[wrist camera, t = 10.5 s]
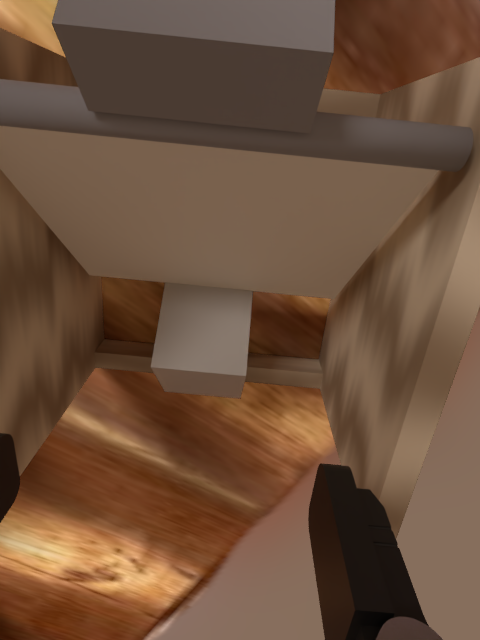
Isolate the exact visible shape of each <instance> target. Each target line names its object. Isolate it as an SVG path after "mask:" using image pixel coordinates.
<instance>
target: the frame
mask: <svg viewBox="0 0 480 640" xmlns="http://www.w3.org/2000/svg"><path fill="white" fill-rule="evenodd" d="M0 79H6V80H16V81H25V82H35V83H45V84H54V85H64V86H74V87H78V85H77V82H76V80H75V78H74V75H73V73H72V70H71V68H70V66H69V63H68V61H67V59H66V58H65V57H63V56H61V55H59V54H56V53H54V52H52V51H50V50H48V49H45V48H43V47H41V46H39V45H37V44H34V43H32V42H30V41H28V40H26V39H23V38H21V37H19V36H17V35H15V34H12V33H10V32H8V31H6V30H4V29H2V28H0ZM317 112H326V113H336V114H345V115H355V116H365V117H374V118H384V119H394V120H403V121H413V122H423V123H433V124H442V125H452V126H462V127H469V128H471V129H472V131H473V146H472V150H471V153H470V156H469V158H468V160H467V162H466V163H465V165H464V166H463V167H462V169H460V170H459V171H457V172H450V171H440V170H439V171H438V172H437V173H436V174H435V176H434V177H433V178H432V179H431V181H430V182H429V183H428V184H427V185H426V187H425V188H424V189H423V190H422V192H421V193H420V194H419V195H418V197H417V198H416V199H415V200H414V201H413V203H412V204H411V205H410V206H409V208H408V209H407V210H406V211H405V213H404V214H403V215H402V216H401V217H400V219H399V220H398V221H397V222H396V224H395V225H394V226H393V227H392V229H391V230H390V231H389V232H388V233H387V235H386V236H385V237H384V238H383V240H382V241H381V242H380V243H379V245H378V246H377V247H376V248H375V249H374V251H373V252H372V253H371V254H370V256H369V257H368V258H367V259H366V261H365V262H364V263H363V264H362V265H361V267H360V268H359V269H358V270H357V272H356V273H355V274H354V275H353V277H352V278H351V279H350V280H349V281H348V283H347V284H346V285H345V286H344V288H343V289H342V290H341V291H340V293H339V294H338V295H337V296H336V297H335V299H330V304H329V309H328V314H327V319H326V324H325V329H324V335H323V340H322V345H321V350H320V355H319V359H308V358H298V357H287V356H277V355H266V354H255V353H248V358H247V371H246V378H245V382H254V383H265V384H275V385H286V386H296V387H307V388H318V389H320V391H321V394H322V398H323V401H324V405H325V409H326V412H327V416H328V420H329V423H330V427H331V430H332V434H333V438H334V441H335V445H336V448H337V452H338V456H339V459H340V463H341V465H343V466H349V467H350V468H351V471H352V474H353V477H354V480H355V483H356V487H357V488H360V489H370V490H371V491H372V493H373V494H374V495H375V496H376V498H377V499H378V500H379V501H380V503H381V504H382V505H383V506H384V508H385V511H386V513H387V516H388V519H389V522H390V524H391V530H392V531H393V533H394V536H395V538H397V535H398V532H399V529H400V527H401V524H402V521H403V518H404V515H405V513H406V510H407V507H408V504H409V502H410V499H411V496H412V493H413V491H414V488H415V485H416V482H417V480H418V477H419V474H420V471H421V468H422V465H423V463H424V460H425V457H426V455H427V452H428V449H429V446H430V444H431V441H432V438H433V435H434V432H435V430H436V427H437V424H438V421H439V419H440V416H441V413H442V410H443V407H444V405H445V402H446V399H447V396H448V394H449V391H450V388H451V385H452V383H453V380H454V377H455V374H456V372H457V369H458V366H459V363H460V360H461V358H462V355H463V352H464V349H465V347H466V344H467V341H468V338H469V336H470V333H471V330H472V327H473V324H474V322H475V319H476V316H477V313H478V311H479V308H480V57H479V58H477V59H474V60H471V61H469V62H466V63H463V64H461V65H458V66H455V67H453V68H450V69H447V70H445V71H442V72H439V73H437V74H434V75H431V76H428V77H426V78H423V79H420V80H418V81H415V82H412V83H410V84H407V85H404V86H402V87H399V88H396V89H394V90H391V91H388V92H386V93H383V94H372V93H362V92H353V91H343V90H333V89H324V88H323V91H322V95H321V98H320V102H319V105H318V109H317ZM154 345H155V344H150V343H140V342H129V341H119V340H108V339H104V319H103V299H102V278H101V276H92V275H89V274H88V273H87V272H86V270H85V269H84V268H83V267H82V266H81V265H80V263H79V262H78V261H77V260H76V259H75V257H74V256H73V255H72V254H71V253H70V251H69V250H68V249H67V248H66V247H65V245H64V244H63V243H62V242H61V241H60V239H59V238H58V237H57V236H56V235H55V234H54V232H53V231H52V230H51V229H50V228H49V226H48V225H47V224H46V223H45V222H44V220H43V219H42V218H41V217H40V216H39V214H38V213H37V212H36V211H35V210H34V209H33V207H32V206H31V205H30V204H29V203H28V201H27V200H26V199H25V198H24V197H23V195H22V194H21V193H20V192H19V191H18V189H17V188H16V187H15V186H14V185H13V184H12V182H11V181H10V180H9V179H8V178H7V176H6V175H5V174H4V173H3V172H2V170H1V169H0V433H5V434H10V435H11V436H12V437H13V440H14V446H15V452H16V458H17V464H18V469H19V475H20V476H21V474H22V473H23V471H24V470H25V468H26V467H27V466H28V464H29V463H30V461H31V460H32V458H33V457H34V455H35V454H36V453H37V451H38V450H39V448H40V447H41V445H42V444H43V442H44V441H45V440H46V438H47V437H48V435H49V434H50V432H51V431H52V430H53V428H54V427H55V425H56V424H57V422H58V421H59V419H60V418H61V417H62V415H63V414H64V412H65V411H66V409H67V408H68V406H69V405H70V404H71V402H72V401H73V399H74V398H75V396H76V395H77V393H78V392H79V391H80V389H81V388H82V386H83V385H84V383H85V382H86V381H87V379H88V378H89V376H90V375H91V373H92V372H93V370H94V369H95V368H105V369H116V370H127V371H137V372H148V373H154V372H153V370H152V369H151V362H152V356H153V350H154Z"/></svg>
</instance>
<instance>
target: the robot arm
mask: <svg viewBox="0 0 480 640" xmlns="http://www.w3.org/2000/svg"><path fill="white" fill-rule="evenodd" d="M19 485H20V475H19V469H18V464H17V458H16V452H15V446H14V440H13V437H12V436H11V435H10V434H5V433H0V522H1V521H2V519H3V518H4V516H5V515H6V513H7V512H8V510H9V509H10V507H11V506H12V504H13V503H14V501H15V499H16V496H17V493H18V490H19ZM309 533H310V540H311V547H312V554H313V561H314V568H315V574H316V581H317V588H318V594H319V601H320V608H321V615H322V622H323V629H324V635H325V640H443V639H442V638H441V637H440V636H439V635H438V634H437V633H436V632H435V631H434V630H432V629H431V628H430V627H429V625H428V624H427V622H426V620H425V617H424V615H423V613H422V610H421V607H420V605H419V602H418V599H417V596H416V593H415V591H414V588H413V585H412V582H411V580H410V577H409V574H408V571H407V569H406V566H405V563H404V561H403V558H402V555H401V552H400V549H399V548H398V547H397V541H396V538H395V536H394V533H393V531H392V530H391V524H390V522H389V519H388V516H387V513H386V511H385V508H384V506H383V505H382V504H381V503H380V501H379V500H378V499H377V498H376V496H375V495H374V494H373V493H372V491H371V490H370V489H360V488H357V487H356V483H355V480H354V477H353V474H352V471H351V468H350V467H349V466H343V465H331V464H320V465H319V467H318V470H317V474H316V479H315V483H314V488H313V492H312V497H311V501H310V506H309Z"/></svg>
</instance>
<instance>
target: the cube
mask: <svg viewBox="0 0 480 640" xmlns="http://www.w3.org/2000/svg"><path fill="white" fill-rule="evenodd" d="M252 296H253V291H249V290H239V289H229V288H219V287H208V286H198V285H188V284H177V283H167V282H165V287H164V293H163V299H162V304H161V310H160V316H159V322H158V327H157V333H156V339H155V345H154V350H153V356H152V362H151V369H152V370H153V372H154V374H155V376H156V377H157V379H158V381H159V382H160V384H161V386H162V388H163V389H164V391H165V392H174V393H185V394H195V395H206V396H217V397H227V398H238V399H240V398H241V394H242V390H243V386H244V382H245V378H246V371H247V358H248V346H249V333H250V321H251V308H252Z"/></svg>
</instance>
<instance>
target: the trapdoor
mask: <svg viewBox="0 0 480 640" xmlns="http://www.w3.org/2000/svg"><path fill="white" fill-rule="evenodd" d="M334 21H335V0H58V3H57V7H56V10H55V14H54V17H53V20H52V25H53V27H54V30H55V32H56V35H57V37H58V39H59V42H60V44H61V47H62V49H63V51H64V54H65V56H66V59H67V61H68V63H69V66H70V68H71V70H72V73H73V75H74V78H75V80H76V82H77V85H78V87H74V86H64V85H54V84H45V83H35V82H25V81H16V80H6V79H0V169H1V170H2V172H3V173H4V174H5V175H6V176H7V178H8V179H9V180H10V181H11V182H12V184H13V185H14V186H15V187H16V188H17V189H18V191H19V192H20V193H21V194H22V195H23V197H24V198H25V199H26V200H27V201H28V203H29V204H30V205H31V206H32V207H33V209H34V210H35V211H36V212H37V213H38V214H39V216H40V217H41V218H42V219H43V220H44V222H45V223H46V224H47V225H48V226H49V228H50V229H51V230H52V231H53V232H54V234H55V235H56V236H57V237H58V238H59V239H60V241H61V242H62V243H63V244H64V245H65V247H66V248H67V249H68V250H69V251H70V253H71V254H72V255H73V256H74V257H75V259H76V260H77V261H78V262H79V263H80V265H81V266H82V267H83V268H84V269H85V270H86V272H87V273H88V274H89V275H92V276H102V277H112V278H123V279H133V280H143V281H154V282H164V283H165V282H167V283H177V284H188V285H198V286H208V287H219V288H229V289H239V290H249V291H257V292H267V293H277V294H287V295H298V296H308V297H318V298H329V299H335V297H336V296H337V295H338V294H339V293H340V291H341V290H342V289H343V288H344V286H345V285H346V284H347V283H348V281H349V280H350V279H351V278H352V277H353V275H354V274H355V273H356V272H357V270H358V269H359V268H360V267H361V265H362V264H363V263H364V262H365V261H366V259H367V258H368V257H369V256H370V254H371V253H372V252H373V251H374V249H375V248H376V247H377V246H378V245H379V243H380V242H381V241H382V240H383V238H384V237H385V236H386V235H387V233H388V232H389V231H390V230H391V229H392V227H393V226H394V225H395V224H396V222H397V221H398V220H399V219H400V217H401V216H402V215H403V214H404V213H405V211H406V210H407V209H408V208H409V206H410V205H411V204H412V203H413V201H414V200H415V199H416V198H417V197H418V195H419V194H420V193H421V192H422V190H423V189H424V188H425V187H426V185H427V184H428V183H429V182H430V181H431V179H432V178H433V177H434V176H435V174H436V173H437V172H438V171H439V170H440V171H450V172H457V171H459V170H460V169H462V167H463V166H464V165H465V163H466V162H467V160H468V158H469V156H470V153H471V150H472V146H473V131H472V129H471V128H469V127H462V126H452V125H442V124H433V123H423V122H413V121H403V120H394V119H384V118H374V117H365V116H355V115H345V114H336V113H326V112H317V109H318V105H319V102H320V98H321V95H322V91H323V88H324V84H325V81H326V77H327V74H328V70H329V67H330V63H331V60H332V56H333V53H334Z"/></svg>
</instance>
